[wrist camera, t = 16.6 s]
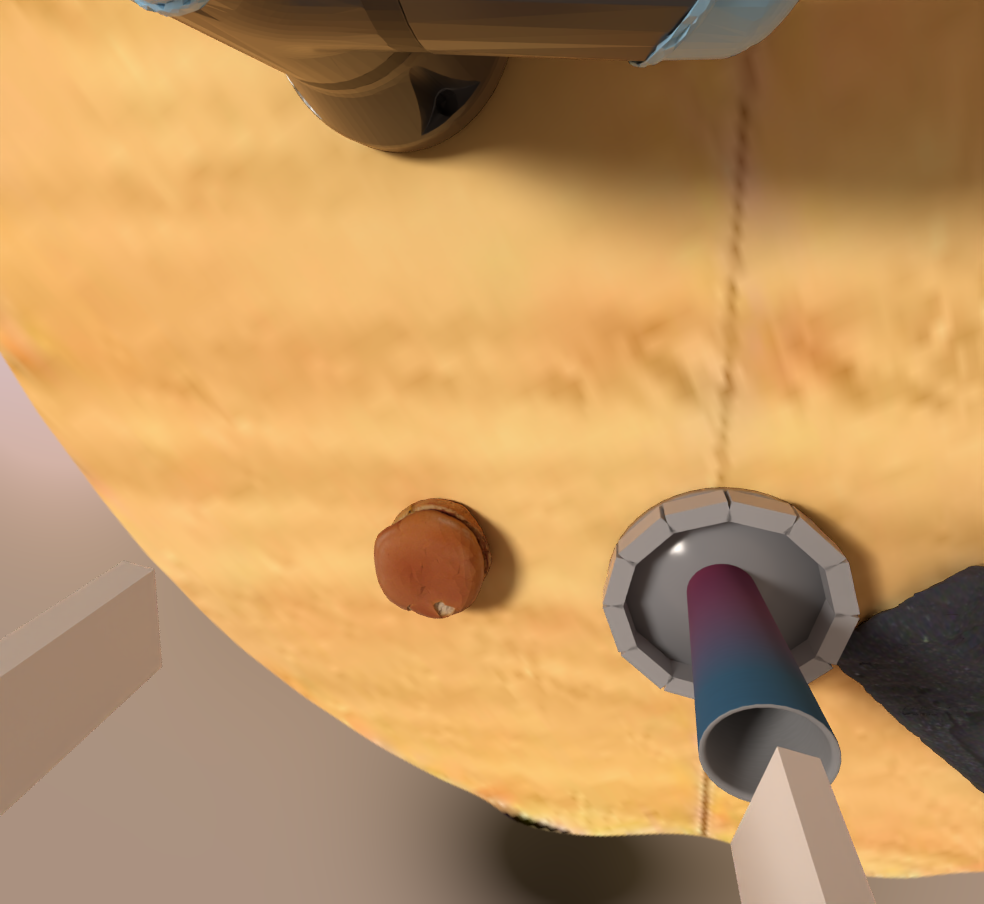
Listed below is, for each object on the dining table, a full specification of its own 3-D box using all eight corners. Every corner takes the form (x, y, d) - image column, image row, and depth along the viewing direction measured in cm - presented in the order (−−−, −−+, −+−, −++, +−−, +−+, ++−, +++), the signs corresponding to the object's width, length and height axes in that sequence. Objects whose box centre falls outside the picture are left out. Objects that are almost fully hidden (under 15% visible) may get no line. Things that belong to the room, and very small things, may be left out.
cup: (656, 580, 44) (672, 735, 30) (735, 536, 41) (792, 684, 27) (708, 643, 45) (746, 821, 31) (788, 604, 42) (869, 779, 28)
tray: (586, 644, 48) (584, 668, 46) (637, 464, 42) (638, 479, 39) (792, 700, 46) (803, 729, 43) (879, 519, 40) (898, 539, 37)
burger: (435, 474, 46) (416, 499, 42) (517, 552, 47) (506, 583, 43) (365, 543, 50) (341, 572, 46) (441, 613, 51) (425, 648, 47)
